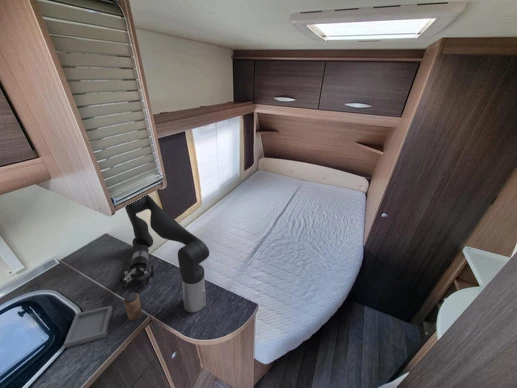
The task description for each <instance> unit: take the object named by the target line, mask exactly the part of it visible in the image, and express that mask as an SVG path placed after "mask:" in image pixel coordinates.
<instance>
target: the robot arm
mask: <svg viewBox="0 0 517 388" xmlns="http://www.w3.org/2000/svg"><path fill="white" fill-rule="evenodd" d="M124 209H125V212H126V214H127V217H128V219H129V221H130V223H131V225H132V230H133V235H134V238H133V239H132V247H133V255H132V257H131V261H130V265H129V269H128V271H127V270H124V269H123V270H121V272H120V275H119V278H118V281H119V284H120V285H121V287H122V290H123V291H126V290H127V287H128V283H129V282H131V281H133V279H137V278H142V277H143V278H144V279H145V281H144V282H145V286H148V285H149V284H150V280H151V279H152V278H155V266H154V264H153V265H150V266H149V267H148V265H149V253H150V249H149V248H151V247H153V244H154V239H153V237H152V235H151V233H150V232H149V226H150V227H151V229H152V230H153V231H154V232H155V233H156V234H157V235H158V236H159V237H160V238H162V239H164V240H166V241H167V240H168V241H173V242H177V243H180V244H183V245H184V246H182V247H180V248H179V249H178V251H177V259H178V260H177V261H178V267H179V272H180V275H181V282H182V284H181V286H182V297H183V308H184V310H185V311H186V312H187V313H191V314H192V313H193V314H194V313H197V312H199V311H200V310H202V309H203V308H204V307H206V305H207V303H206V296H207V295H206V287H205V283H206V282H205V268H204V266H202V265H201V263H203V262H204V261H205V260H207V258H208V257H210V249H209V248H208V245H207V244H205V242H204V241H202V240H201V239H200V238H199V237H197V236H196V235H194V234H193V233H192V232H190V231H188V230H187V229H186V228H185V227H183V225H181V224H180V223H179V222H177V221H176V219H174V218H173V217H172V216H171V215H170V214H169V213H167V212H166V211H165V210H164V209H163V208H162V207H160V205H158V204H157V202H155V200H154V199H153V198H152V196H150V194H148V195H146V196H144V197H142V198H141V199H139V200H137V201H135V202H133V203H131V204H129V205H127V206H126V207H125V206H124ZM146 210H149V211H150V220H149V223H150V225H148V223H147V222H146V220H144V219H143V218H140V217H139V216H138V215H137V214H139V213H142V212H144V211H146ZM148 271H149V272H150V273H149V272H148Z"/></svg>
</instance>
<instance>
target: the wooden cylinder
mask: <svg viewBox="0 0 517 388" xmlns="http://www.w3.org/2000/svg"><path fill="white" fill-rule="evenodd" d="M123 302H124V303H123V304H124V307H125V310H126V312H125V313H126V316H127V318H128V320H129V321H132V322H133V321H137V320H139V319H140V318H141V317H142V315H143V310H142V305H141V300H140V295H139V293H137V292H134V291H133V292H129V293H128V294H126V295H125V297H124V299H123Z"/></svg>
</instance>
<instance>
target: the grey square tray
mask: <svg viewBox="0 0 517 388" xmlns="http://www.w3.org/2000/svg"><path fill="white" fill-rule="evenodd" d="M112 313H113V305H108V306H107V305H106V306H104V307H97V308H95V309H91V310H87V311H82V312H78V313H75V315H74V318H73V320H72V323H71V325H70V328H69V330H68V333H67V334H66V338H65V340H64V342H63V347H64V348H65V349H68V348H71V347H72V348H73V347H77V346H79V345H82V344H86V343H89V342H94V341H97V340H100V339H105V338H106V337H107V334H108V329H109V326H110V322H111V318H112Z"/></svg>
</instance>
